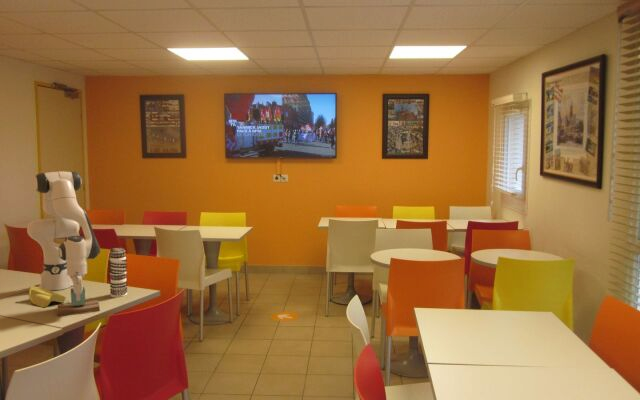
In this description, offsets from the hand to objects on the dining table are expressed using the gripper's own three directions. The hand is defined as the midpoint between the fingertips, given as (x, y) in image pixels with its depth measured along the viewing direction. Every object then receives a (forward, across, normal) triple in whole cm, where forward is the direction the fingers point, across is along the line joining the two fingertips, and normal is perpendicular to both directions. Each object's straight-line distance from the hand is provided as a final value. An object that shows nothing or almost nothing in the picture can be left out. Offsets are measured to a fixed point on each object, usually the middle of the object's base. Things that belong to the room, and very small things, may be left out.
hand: (78, 298), depth 243 cm
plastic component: (+6, +21, +14) cm, 26 cm away
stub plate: (+6, 0, 0) cm, 6 cm away
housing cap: (+3, 0, 0) cm, 3 cm away
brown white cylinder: (+6, +18, -20) cm, 28 cm away
